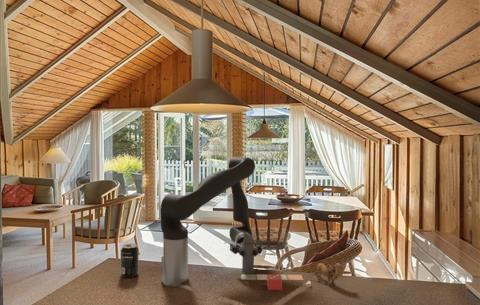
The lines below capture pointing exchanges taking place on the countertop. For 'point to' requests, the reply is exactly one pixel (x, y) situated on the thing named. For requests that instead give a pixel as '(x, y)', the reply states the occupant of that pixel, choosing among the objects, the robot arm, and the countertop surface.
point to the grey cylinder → (248, 255)
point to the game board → (284, 277)
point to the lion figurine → (329, 272)
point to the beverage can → (129, 260)
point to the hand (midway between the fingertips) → (249, 253)
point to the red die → (274, 282)
